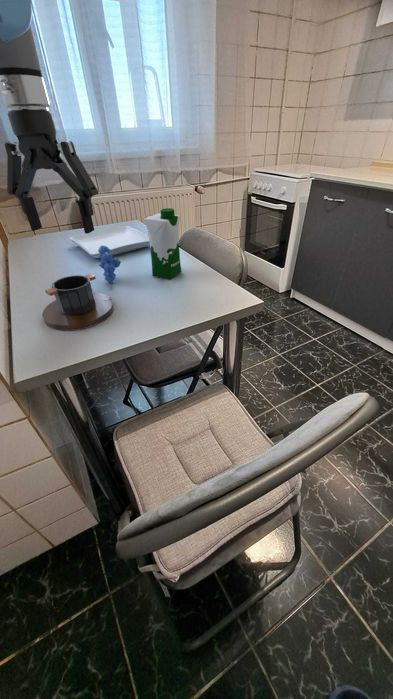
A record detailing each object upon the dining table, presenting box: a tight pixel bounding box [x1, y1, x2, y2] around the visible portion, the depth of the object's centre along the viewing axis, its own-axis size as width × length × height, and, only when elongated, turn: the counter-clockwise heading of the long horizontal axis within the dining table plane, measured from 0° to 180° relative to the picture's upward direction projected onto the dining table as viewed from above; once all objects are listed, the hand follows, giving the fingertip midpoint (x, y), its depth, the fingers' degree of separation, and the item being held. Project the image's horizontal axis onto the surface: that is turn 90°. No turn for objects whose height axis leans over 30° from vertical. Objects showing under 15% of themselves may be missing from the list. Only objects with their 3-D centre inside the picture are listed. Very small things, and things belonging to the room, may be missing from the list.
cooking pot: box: [45, 273, 97, 315], centre depth 76 cm, size 9×13×7 cm
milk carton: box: [143, 207, 182, 281], centre depth 92 cm, size 9×9×20 cm
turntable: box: [41, 291, 115, 331], centre depth 79 cm, size 18×18×2 cm
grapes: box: [98, 245, 122, 283], centre depth 91 cm, size 12×7×12 cm, turn 23°
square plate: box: [68, 225, 150, 259], centre depth 122 cm, size 27×27×4 cm
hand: (63, 230), depth 66 cm, fingers open, 13 cm apart
